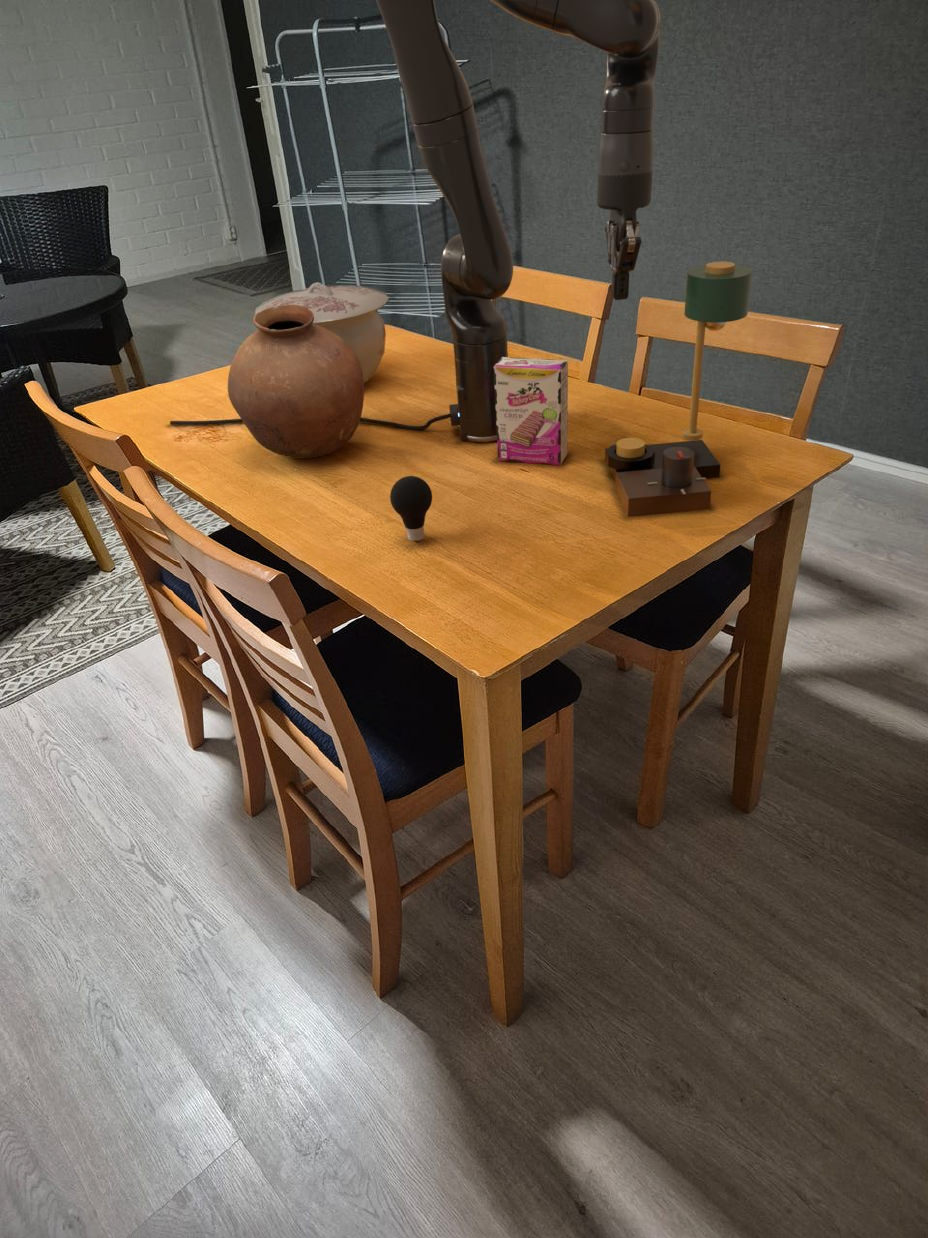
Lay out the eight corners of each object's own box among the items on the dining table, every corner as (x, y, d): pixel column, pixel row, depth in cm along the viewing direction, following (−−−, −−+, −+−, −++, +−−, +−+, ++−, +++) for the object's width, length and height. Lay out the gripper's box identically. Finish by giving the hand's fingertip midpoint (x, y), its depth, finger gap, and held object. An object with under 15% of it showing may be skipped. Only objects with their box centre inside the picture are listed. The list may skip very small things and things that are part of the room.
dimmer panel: (628, 517, 123) (629, 498, 121) (615, 490, 131) (615, 471, 129) (712, 510, 123) (714, 490, 122) (694, 482, 131) (696, 464, 129)
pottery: (307, 419, 166) (282, 285, 152) (398, 439, 154) (381, 296, 140) (218, 463, 151) (181, 320, 137) (311, 489, 139) (282, 335, 125)
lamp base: (611, 487, 132) (612, 463, 129) (599, 461, 140) (600, 438, 138) (719, 477, 132) (721, 453, 130) (700, 452, 140) (702, 429, 138)
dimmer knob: (658, 475, 127) (660, 445, 124) (688, 473, 127) (690, 443, 124) (664, 488, 123) (666, 458, 121) (694, 486, 123) (697, 456, 120)
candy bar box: (496, 462, 143) (491, 365, 133) (505, 450, 146) (501, 355, 137) (561, 467, 139) (561, 368, 130) (568, 454, 143) (568, 358, 134)
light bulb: (395, 533, 124) (387, 471, 119) (435, 529, 125) (429, 467, 119) (396, 553, 120) (387, 489, 114) (437, 549, 120) (431, 484, 114)
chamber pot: (392, 401, 171) (379, 294, 159) (258, 409, 172) (235, 304, 161) (402, 357, 194) (391, 261, 182) (284, 365, 195) (266, 270, 184)
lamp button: (619, 460, 131) (619, 449, 130) (613, 449, 135) (613, 438, 134) (647, 457, 131) (648, 447, 130) (641, 446, 135) (641, 436, 134)
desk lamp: (684, 448, 132) (698, 274, 117) (669, 427, 139) (680, 260, 125) (741, 443, 132) (762, 268, 117) (723, 422, 139) (741, 254, 125)
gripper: (664, 172, 112) (655, 307, 122) (640, 161, 123) (634, 286, 133) (608, 176, 112) (603, 311, 122) (589, 165, 123) (586, 290, 133)
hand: (619, 298), depth 127 cm, fingers closed
